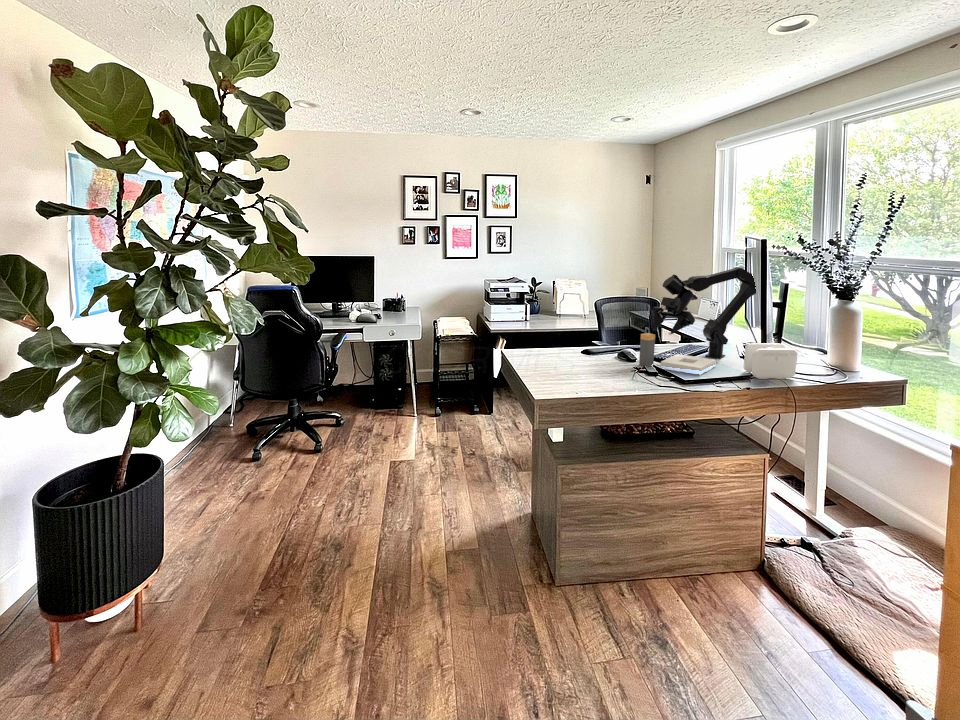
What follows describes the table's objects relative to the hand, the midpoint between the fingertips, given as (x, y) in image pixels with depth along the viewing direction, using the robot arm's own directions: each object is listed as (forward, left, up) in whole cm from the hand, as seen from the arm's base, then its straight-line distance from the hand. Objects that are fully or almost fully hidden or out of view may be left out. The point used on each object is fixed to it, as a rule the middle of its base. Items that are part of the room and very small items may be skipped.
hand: (662, 331), depth 231 cm
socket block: (+1, +12, -13) cm, 18 cm away
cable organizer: (-6, +40, -13) cm, 43 cm away
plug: (+7, -3, -13) cm, 15 cm away
